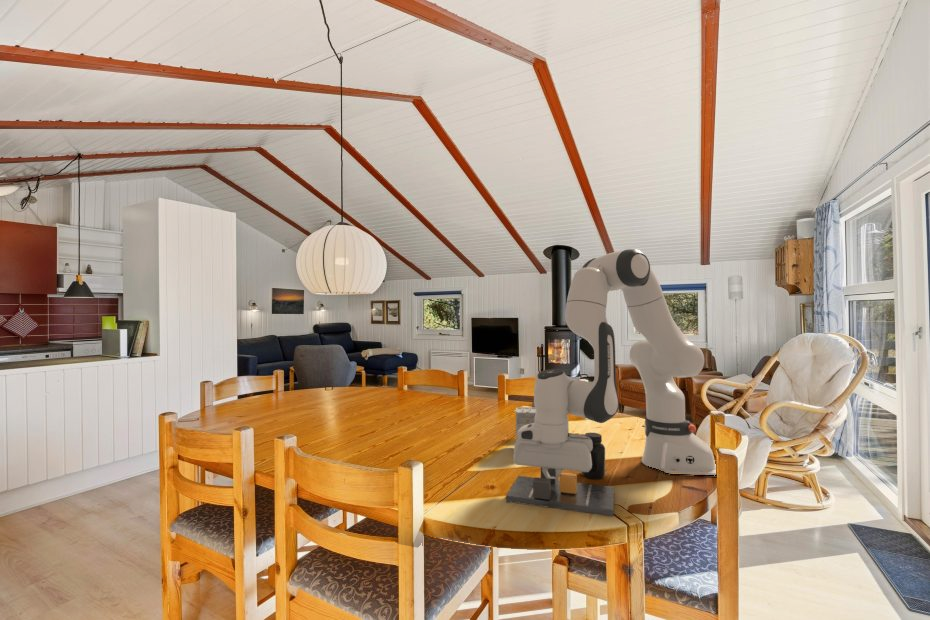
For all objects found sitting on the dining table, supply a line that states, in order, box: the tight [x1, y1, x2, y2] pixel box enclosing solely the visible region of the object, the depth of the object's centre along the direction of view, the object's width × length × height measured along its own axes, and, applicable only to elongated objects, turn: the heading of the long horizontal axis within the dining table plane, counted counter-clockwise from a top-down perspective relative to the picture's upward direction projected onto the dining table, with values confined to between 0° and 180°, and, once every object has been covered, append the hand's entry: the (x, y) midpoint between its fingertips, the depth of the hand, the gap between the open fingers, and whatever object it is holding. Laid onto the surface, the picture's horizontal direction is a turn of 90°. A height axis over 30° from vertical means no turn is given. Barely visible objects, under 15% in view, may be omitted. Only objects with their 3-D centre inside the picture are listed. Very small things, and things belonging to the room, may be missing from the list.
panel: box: [505, 475, 615, 517], centre depth 114 cm, size 26×14×2 cm, turn 70°
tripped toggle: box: [559, 471, 578, 494], centre depth 114 cm, size 4×3×4 cm
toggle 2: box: [533, 476, 551, 500], centre depth 111 cm, size 4×3×4 cm
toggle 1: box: [540, 467, 557, 479], centre depth 121 cm, size 4×3×4 cm
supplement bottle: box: [581, 432, 606, 480], centre depth 129 cm, size 7×7×12 cm
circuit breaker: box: [515, 406, 536, 442], centre depth 152 cm, size 8×14×15 cm, turn 174°
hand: (552, 484), depth 115 cm, fingers closed
